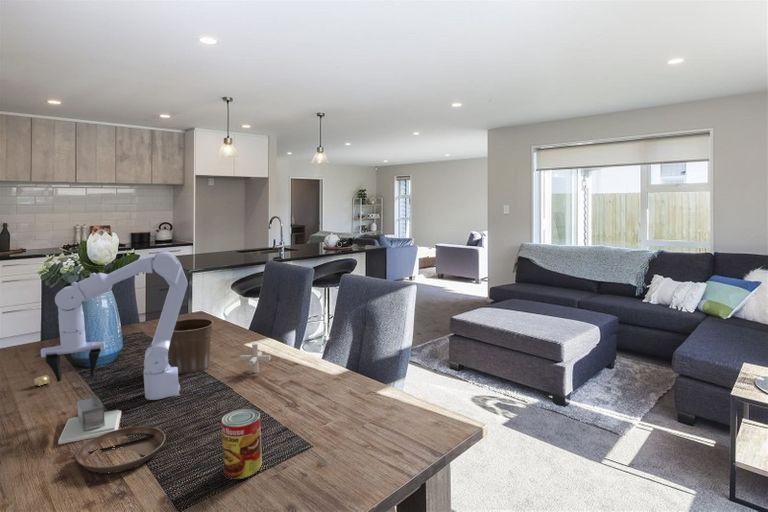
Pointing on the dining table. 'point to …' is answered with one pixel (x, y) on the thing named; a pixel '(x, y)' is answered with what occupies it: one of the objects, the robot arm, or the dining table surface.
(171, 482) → the dining table surface
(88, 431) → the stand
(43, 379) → the yellow rounded lump
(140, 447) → the plant saucer
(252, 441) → the canned food
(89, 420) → the block
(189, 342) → the plant pot
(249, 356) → the pipe connector
